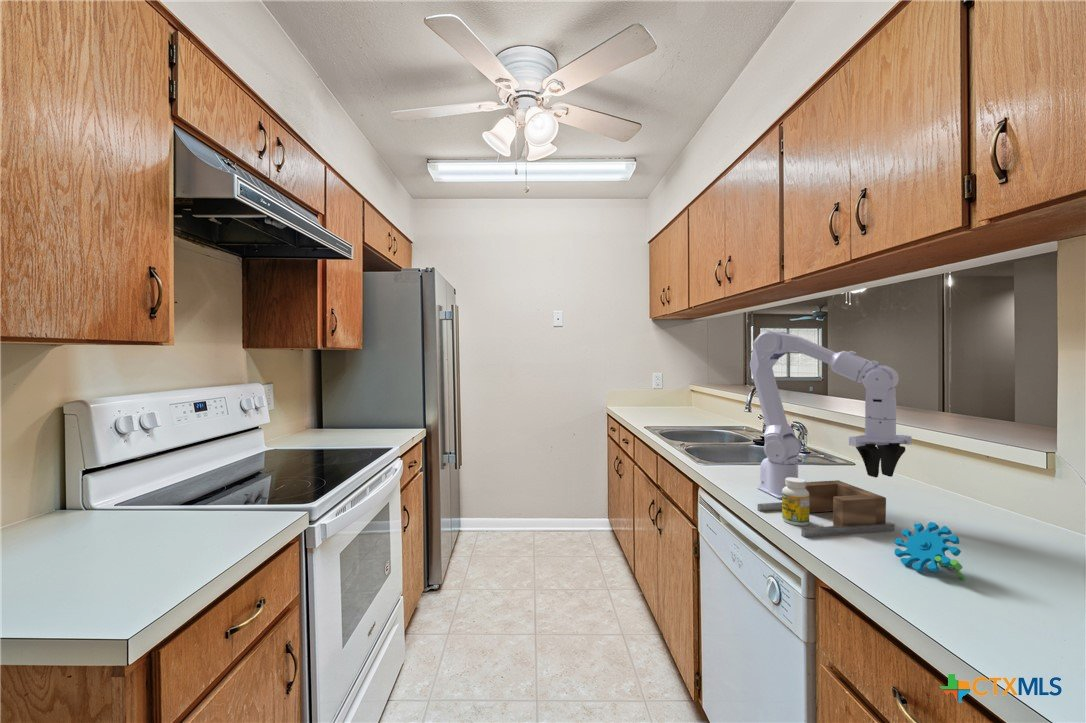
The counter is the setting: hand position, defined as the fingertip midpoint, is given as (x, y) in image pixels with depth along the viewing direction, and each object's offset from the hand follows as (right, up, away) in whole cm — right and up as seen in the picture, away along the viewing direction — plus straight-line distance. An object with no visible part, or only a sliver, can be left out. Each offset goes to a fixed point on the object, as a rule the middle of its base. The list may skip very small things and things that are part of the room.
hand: (879, 475), depth 102 cm
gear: (-10, -10, -24) cm, 28 cm away
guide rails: (-15, -10, -2) cm, 18 cm away
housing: (-10, -9, -1) cm, 14 cm away
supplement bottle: (-21, -10, -3) cm, 24 cm away
